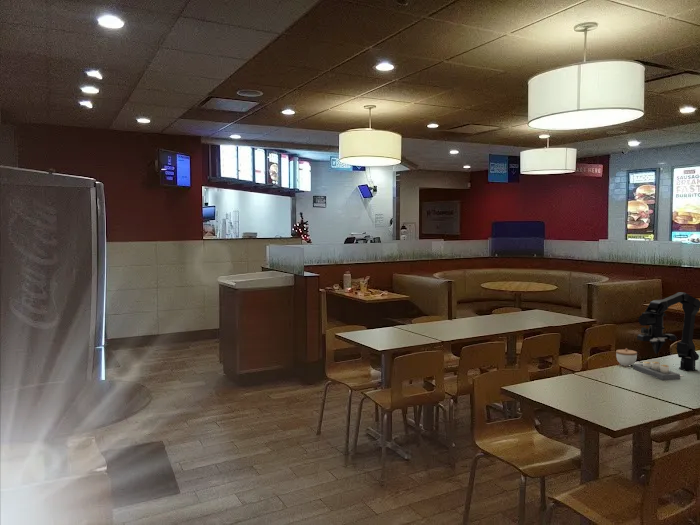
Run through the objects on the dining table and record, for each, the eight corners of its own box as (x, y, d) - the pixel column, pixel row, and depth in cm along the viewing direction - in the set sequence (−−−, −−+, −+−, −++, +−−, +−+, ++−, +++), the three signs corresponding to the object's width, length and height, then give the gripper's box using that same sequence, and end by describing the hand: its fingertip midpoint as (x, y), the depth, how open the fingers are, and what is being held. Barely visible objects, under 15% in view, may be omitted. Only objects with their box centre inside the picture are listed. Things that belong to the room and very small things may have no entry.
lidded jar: (611, 363, 321) (611, 347, 321) (624, 361, 326) (624, 346, 325) (627, 367, 311) (628, 351, 311) (641, 365, 316) (641, 349, 315)
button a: (648, 368, 307) (648, 361, 307) (652, 370, 303) (652, 363, 303) (641, 369, 307) (641, 361, 307) (646, 370, 303) (646, 363, 303)
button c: (665, 372, 293) (665, 364, 293) (670, 374, 289) (670, 366, 289) (658, 372, 293) (658, 364, 293) (663, 374, 289) (663, 366, 289)
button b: (656, 369, 300) (656, 361, 300) (661, 370, 296) (661, 363, 296) (649, 369, 300) (649, 361, 299) (654, 371, 296) (654, 363, 296)
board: (649, 367, 311) (649, 363, 310) (679, 379, 287) (680, 374, 287) (632, 368, 309) (632, 364, 309) (662, 380, 286) (662, 375, 285)
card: (664, 369, 307) (664, 368, 307) (683, 376, 292) (683, 375, 292) (655, 369, 306) (655, 369, 306) (674, 376, 291) (674, 376, 291)
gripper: (663, 321, 305) (663, 349, 306) (631, 322, 303) (630, 350, 304) (677, 325, 294) (676, 354, 294) (643, 325, 292) (643, 355, 293)
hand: (656, 353), depth 297 cm, fingers closed
